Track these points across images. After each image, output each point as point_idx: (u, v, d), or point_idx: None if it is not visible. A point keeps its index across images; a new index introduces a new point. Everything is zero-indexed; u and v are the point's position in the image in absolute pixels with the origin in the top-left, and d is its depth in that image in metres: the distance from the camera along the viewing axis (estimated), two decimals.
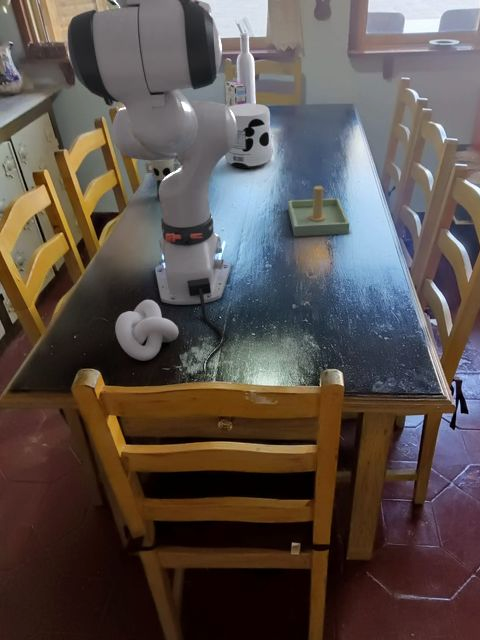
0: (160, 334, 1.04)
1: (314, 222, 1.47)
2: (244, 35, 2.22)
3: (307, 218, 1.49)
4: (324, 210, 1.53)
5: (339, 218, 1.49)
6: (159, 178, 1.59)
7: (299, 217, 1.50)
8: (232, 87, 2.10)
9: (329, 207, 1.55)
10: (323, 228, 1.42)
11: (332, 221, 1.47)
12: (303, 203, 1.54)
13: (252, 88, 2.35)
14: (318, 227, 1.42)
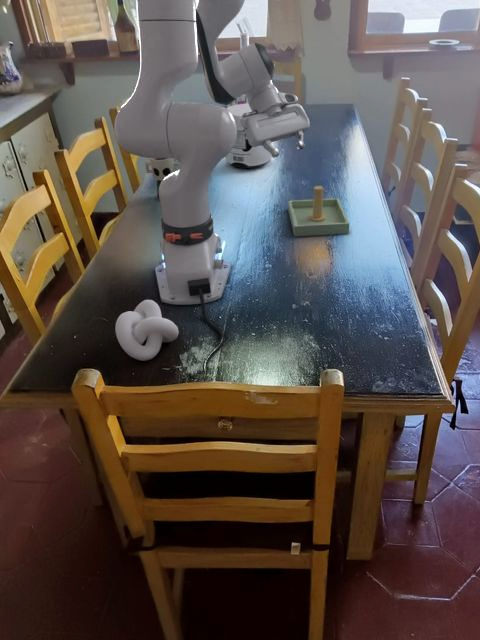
0: (160, 334, 1.04)
1: (314, 222, 1.47)
2: (244, 35, 2.22)
3: (307, 218, 1.49)
4: (324, 210, 1.53)
5: (339, 218, 1.49)
6: (159, 178, 1.59)
7: (299, 217, 1.50)
8: None
9: (329, 207, 1.55)
10: (323, 228, 1.42)
11: (332, 221, 1.47)
12: (303, 203, 1.54)
13: None
14: (318, 227, 1.42)
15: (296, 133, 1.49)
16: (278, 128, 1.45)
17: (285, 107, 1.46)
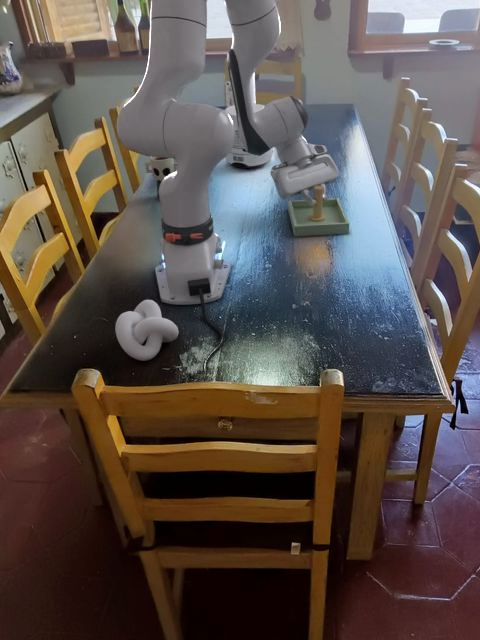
0: (160, 334, 1.04)
1: (314, 222, 1.47)
2: None
3: (307, 218, 1.49)
4: (324, 210, 1.53)
5: (339, 218, 1.49)
6: (159, 178, 1.59)
7: (299, 217, 1.50)
8: None
9: (328, 207, 1.55)
10: (323, 228, 1.42)
11: (332, 221, 1.47)
12: (303, 203, 1.54)
13: (252, 88, 2.35)
14: (318, 227, 1.42)
15: None
16: (308, 180, 1.44)
17: (315, 158, 1.45)
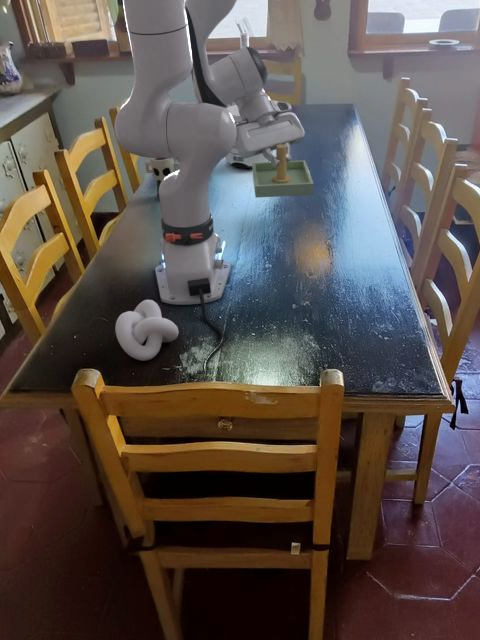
0: (160, 334, 1.04)
1: (277, 184, 1.39)
2: (244, 35, 2.22)
3: (271, 180, 1.41)
4: (290, 172, 1.45)
5: (304, 180, 1.41)
6: (159, 178, 1.59)
7: (262, 179, 1.42)
8: None
9: (295, 169, 1.47)
10: (286, 188, 1.34)
11: (296, 183, 1.39)
12: (268, 165, 1.47)
13: None
14: (280, 188, 1.34)
15: None
16: (270, 138, 1.36)
17: (278, 116, 1.37)
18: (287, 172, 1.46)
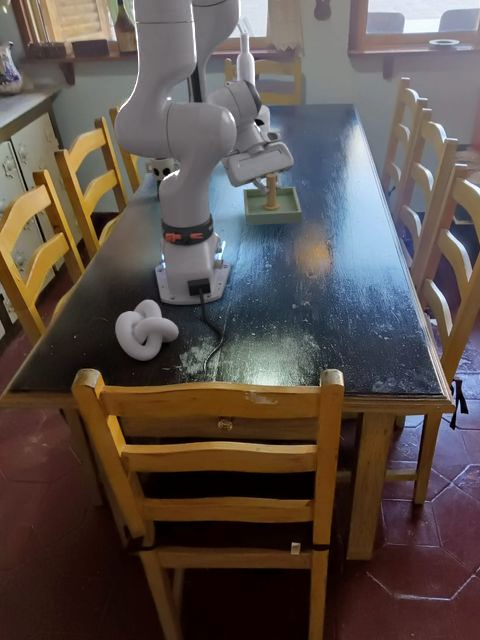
0: (160, 334, 1.04)
1: (267, 211, 1.44)
2: (244, 35, 2.22)
3: (261, 207, 1.46)
4: (279, 199, 1.50)
5: (293, 207, 1.46)
6: (159, 178, 1.59)
7: (253, 206, 1.47)
8: None
9: (285, 195, 1.52)
10: (275, 217, 1.39)
11: (286, 210, 1.44)
12: (258, 192, 1.51)
13: None
14: (270, 216, 1.39)
15: None
16: (260, 168, 1.41)
17: (267, 146, 1.42)
18: (277, 198, 1.50)
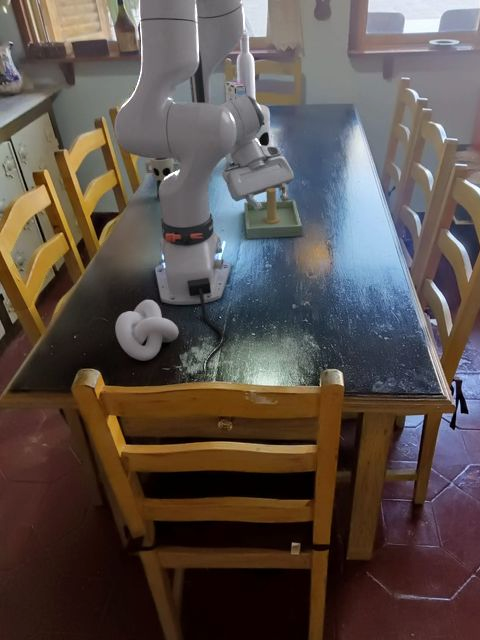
0: (160, 334, 1.04)
1: (268, 224, 1.47)
2: (244, 35, 2.22)
3: (261, 220, 1.49)
4: (280, 212, 1.53)
5: (293, 220, 1.48)
6: (159, 178, 1.59)
7: (254, 219, 1.50)
8: (232, 87, 2.10)
9: (285, 209, 1.54)
10: (275, 230, 1.42)
11: (286, 223, 1.47)
12: None
13: (252, 88, 2.35)
14: (270, 230, 1.42)
15: (280, 185, 1.48)
16: (261, 182, 1.43)
17: (268, 160, 1.44)
18: (277, 212, 1.53)
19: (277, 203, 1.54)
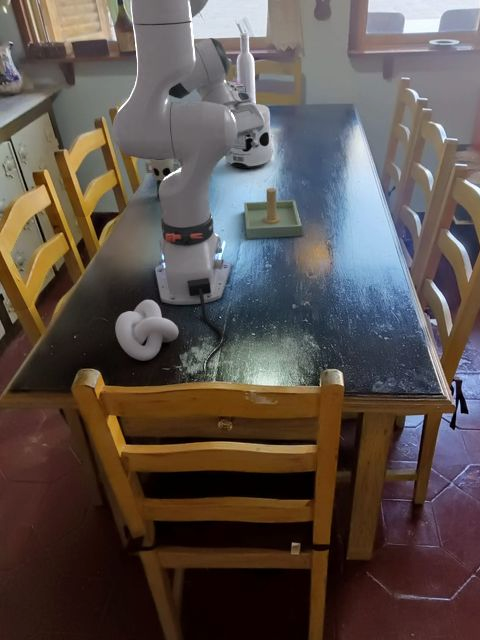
0: (160, 334, 1.04)
1: (268, 224, 1.47)
2: (244, 35, 2.22)
3: (261, 220, 1.49)
4: (280, 212, 1.53)
5: (293, 220, 1.48)
6: (159, 178, 1.59)
7: (254, 219, 1.50)
8: (232, 87, 2.10)
9: (285, 209, 1.54)
10: (275, 230, 1.42)
11: (286, 223, 1.47)
12: (259, 205, 1.54)
13: (252, 88, 2.35)
14: (270, 230, 1.42)
15: (251, 132, 1.48)
16: None
17: (238, 105, 1.45)
18: (277, 212, 1.53)
19: (277, 203, 1.54)
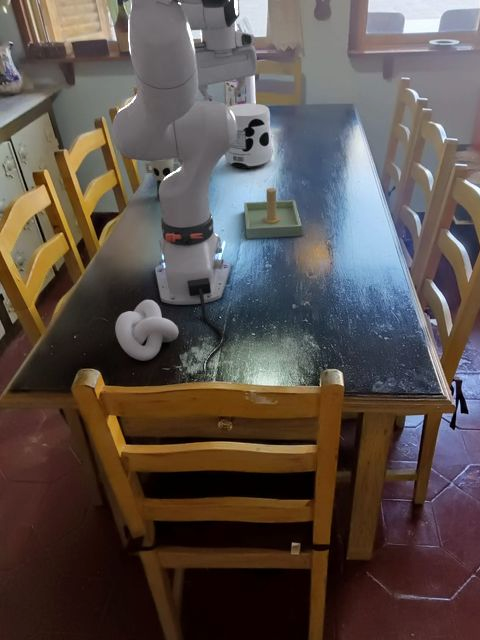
0: (160, 334, 1.04)
1: (268, 224, 1.47)
2: None
3: (261, 220, 1.49)
4: (280, 212, 1.53)
5: (293, 220, 1.48)
6: (159, 178, 1.59)
7: (254, 219, 1.50)
8: (232, 87, 2.10)
9: (285, 209, 1.54)
10: (275, 230, 1.42)
11: (286, 223, 1.47)
12: (259, 205, 1.54)
13: (252, 88, 2.35)
14: (270, 230, 1.42)
15: (238, 77, 1.36)
16: (220, 74, 1.31)
17: (237, 49, 1.29)
18: (277, 212, 1.53)
19: (277, 203, 1.54)
